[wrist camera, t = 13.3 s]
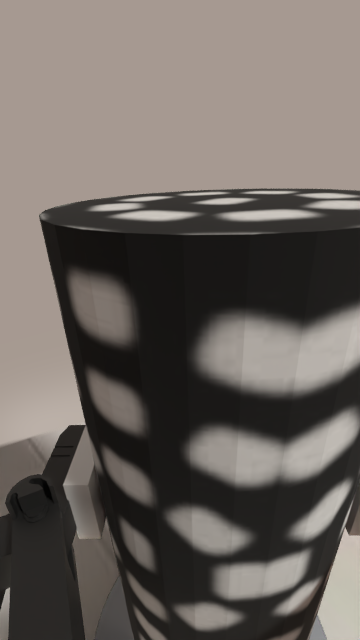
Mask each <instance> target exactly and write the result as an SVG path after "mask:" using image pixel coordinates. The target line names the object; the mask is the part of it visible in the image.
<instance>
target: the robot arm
mask: <svg viewBox="0 0 360 640" xmlns="http://www.w3.org/2000/svg"><path fill="white" fill-rule="evenodd" d="M5 504H6V506H7V508H8V511H9V513H10V514H8V515H5V516H2V517H0V609H1V605H2V602H3V598H4V594H5V590H6V589H7V588H9V587H10V608H9V635H8V640H85V634H84V626H83V618H82V610H81V602H80V594H79V587H78V579H77V571H76V563H75V555H74V549H73V546H72V542H73V539H74V536H75V532H76V531H77V534H78V538H79V539H101V537H102V532H103V528H104V523H105V519H106V513H105V508H104V504H103V499H102V495H101V490H100V486H99V481H98V477H97V472H96V468H95V463H94V459H93V454H92V450H91V445H90V441H89V436H88V432H87V428H86V425H69V426H68V427H67V429H66V430H65V431H64V432H63V433H62V434H61V435H60V436H59V439H58V441H57V443H56V445H55V448H54V450H53V452H52V454H51V458H49V460H48V463H47V465H46V467H45V469H44V471H43V474H42V475H39V474H37V475H33V476H29V477H27V478H25V479H23V480H21V481H20V482H18V483H17V484H16V485H15V486H14V487H13V488H12V489H11V491H10V492H9V493H8V495H7V498H6V502H5ZM345 527H346V529H347V532H348V534H349V535H360V481H359V484H358V487H357V490H356V494H355V497H354V500H353V503H352V506H351V509H350V512H349V516H348V519H347V522H346V525H345Z"/></svg>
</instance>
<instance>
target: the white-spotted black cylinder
mask: <svg viewBox="0 0 360 640" xmlns="http://www.w3.org/2000/svg"><path fill="white" fill-rule="evenodd" d="M39 217H40V222H41V226H42V231H43V235H44V239H45V244H46V248H47V253H48V257H49V262H50V266H51V271H52V275H53V280H54V284H55V288H56V293H57V298H58V302H59V307H60V311H61V315H62V320H63V324H64V329H65V333H66V338H67V342H68V347H69V351H70V356H71V360H72V364H73V369H74V373H75V378H76V382H77V387H78V392H79V396H80V401H81V405H82V410H83V414H84V418H85V423H86V428H87V432H88V436H89V441H90V445H91V450H92V454H93V459H94V463H95V468H96V472H97V477H98V481H99V486H100V490H101V495H102V499H103V504H104V508H105V513H106V517H107V522H108V526H109V531H110V535H111V539H112V544H113V548H114V553H115V557H116V562H117V566H118V571H119V575H120V580H121V584H122V589H123V593H124V598H125V602H126V607H127V611H128V616H129V620H130V625H131V629H132V634H133V638H134V640H309V638H310V635H311V632H312V629H313V626H314V623H315V620H316V616H317V613H318V610H319V607H320V604H321V601H322V597H323V594H324V591H325V588H326V585H327V582H328V579H329V575H330V572H331V569H332V566H333V563H334V560H335V557H336V553H337V550H338V547H339V544H340V541H341V538H342V534H343V531H344V528H345V525H346V522H347V519H348V516H349V512H350V509H351V506H352V503H353V500H354V497H355V494H356V490H357V487H358V484H359V481H360V191H356V190H355V191H354V190H332V189H227V190H203V191H202V190H201V191H182V192H165V193H152V194H139V195H128V196H119V197H111V198H102V199H94V200H87V201H81V202H75V203H71V204H66V205H61V206H57V207H54V208H51V209H48V210H45V211H44V212H42V213H41V214H40V215H39Z"/></svg>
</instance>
